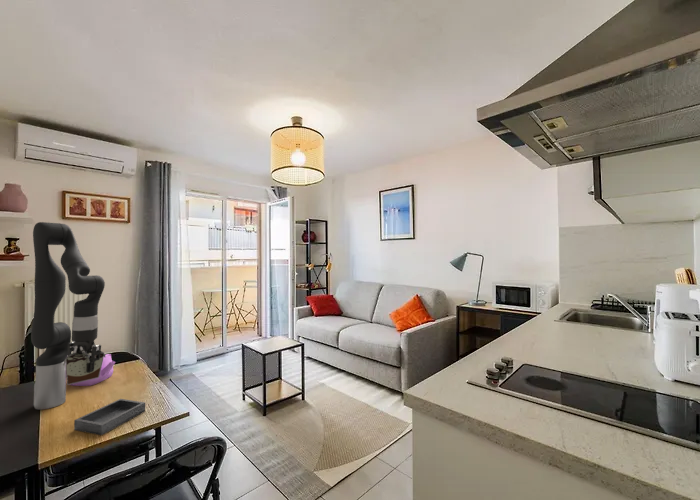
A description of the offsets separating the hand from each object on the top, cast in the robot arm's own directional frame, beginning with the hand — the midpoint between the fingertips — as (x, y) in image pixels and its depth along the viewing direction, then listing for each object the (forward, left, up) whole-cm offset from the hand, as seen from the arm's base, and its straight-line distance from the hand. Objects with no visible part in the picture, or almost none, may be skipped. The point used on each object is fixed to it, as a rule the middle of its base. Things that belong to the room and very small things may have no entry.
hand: (83, 370), depth 118 cm
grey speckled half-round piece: (-2, +1, -3) cm, 4 cm away
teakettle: (-32, +27, -18) cm, 46 cm away
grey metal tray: (+13, +1, -18) cm, 22 cm away
